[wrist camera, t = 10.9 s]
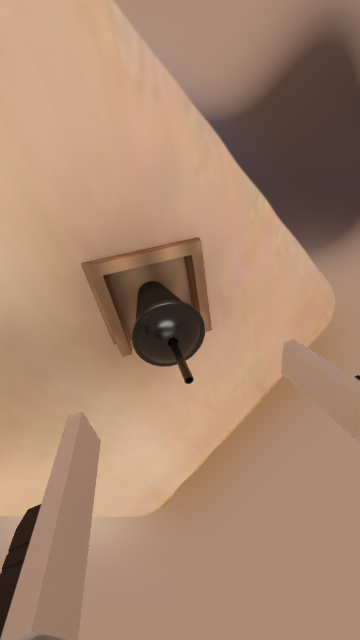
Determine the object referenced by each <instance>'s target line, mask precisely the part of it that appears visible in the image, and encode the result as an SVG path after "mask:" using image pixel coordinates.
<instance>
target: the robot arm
mask: <svg viewBox="0 0 360 640" xmlns="http://www.w3.org/2000/svg"><path fill="white" fill-rule="evenodd" d="M281 374H282V375H283V376H285V377H286V378H287V379H288V380H289V381H291V383H293V384H294V385H295V386H296V387H297V388H298V389H299V390H300V391H302V392H303V393H304V394H305V395H306V396H307V397H309V398H310V399H311V400H312V401H313V402H314V403H315V404H317V406H318V407H320V408H321V409H322V410H323V411H324V412H325V413H326V414H328V415H329V416H330V417H331V418H332V419H333V420H334V421H335V422H337V423H338V424H339V425H340V426H341V427H342V428H343V429H345V430H346V431H347V432H348V433H349V434H350V435H351V436H352V437H353V438H355V439H356V440H357V441H358V442H359V443H360V376H359V375H358V376H356V377H353V376H352V375H350V374H348V373H347V372H345V371H343V370H342V369H340V368H339V367H337V366H335V365H334V364H332V363H331V362H329V361H327V360H326V359H324V358H322V357H321V356H319V355H318V354H316V353H314V352H313V351H311V350H310V349H308V348H306V347H305V346H303V345H302V344H300V343H298V342H297V341H295V340H294V339H293V340H290V341H287V342H284V345H283V356H282V367H281ZM100 441H101V440H100V439H99V437H98V436H97V434H96V432H95V431H94V429H93V428H92V426H91V425H90V423H89V421H88V420H87V418H86V417H85V415H84V414H83V412H80V413H77V414H74V415H71V416H68V419H67V422H66V425H65V428H64V432H63V435H62V438H61V442H60V445H59V448H58V451H57V455H56V458H55V461H54V465H53V468H52V471H51V474H50V478H49V481H48V484H47V488H46V491H45V494H44V497H43V501H42V504H40V505H38V506H35V507H33V508H30V509H28V510H27V512H26V514H25V515H24V517H23V519H22V520H21V522H20V524H19V525H18V527H17V529H16V531H15V534H14V537H13V539H12V542H11V545H10V548H9V553H8V555H7V556H6V559H5V561H4V564H3V567H2V573H1V574H0V640H78V635H79V627H80V618H81V609H82V601H83V592H84V582H85V574H86V565H87V556H88V547H89V538H90V528H91V521H92V512H93V503H94V494H95V485H96V476H97V467H98V459H99V450H100Z"/></svg>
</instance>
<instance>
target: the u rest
mask: <svg viewBox="0 0 360 640" xmlns="http://www.w3.org/2000/svg"><path fill="white" fill-rule="evenodd" d="M81 265H82V268H83V270H84V273H85V275H86V277H87V280H88V282H89V285H90V287H91V290H92V292H93V294H94V297H95V299H96V302H97V304H98V306H99V309H100V311H101V314H102V316H103V319H104V321H105V323H106V326H107V328H108V331H109V333H110V335H111V338H112V340H113V343H114V344H117V345H118V347H119V350H120V352H121V355H122V357H123V356H126V355H130V354H132V346H131V340H132V330H133V326H134V324H135V322H136V310H137V297H138V291H139V289H140V287H141V286H142V285H143V284H144V283H146V282H149V281H156V282H159V283H161V284H162V285H163V286H165V287H166V288H167V289H168V290H170V291H171V292H172V293H173V294H174V295H176V296H177V297H178V298H179V299H181V300H182V301H183V302H186V303H188V304H190V305H192V306H193V307H194V308H196V309H197V310H198V312H199V313H200V314H201V316H202V318H203V320H204V324H205V332H206V331H209V330H212V329H211V320H210V312H209V304H208V296H207V288H206V279H205V271H204V263H203V255H202V246H201V241H200V238H194V239H189V240H185V241H180V242H176V243H171V244H167V245H162V246H158V247H153V248H149V249H144V250H140V251H135V252H130V253H126V254H121V255H117V256H112V257H108V258H103V259H99V260H94V261H90V262H85V263H82V264H81Z"/></svg>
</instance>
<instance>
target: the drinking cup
mask: <svg viewBox="0 0 360 640" xmlns="http://www.w3.org/2000/svg"><path fill="white" fill-rule="evenodd" d="M204 336H205V324H204V320H203V318H202V316H201V314H200V313H199V312H198V310H197V309H196V308H194V307H193V306H192V305H190V304H188V303H186V302H183V301H182V300H181V299H179V298H178V297H177V296H176V295H174V294H173V293H172V292H171V291H170V290H168V289H167V288H166V287H165V286H163V285H162V284H161V283H159V282H156V281H149V282H146V283H144V284H143V285H142V286H141V287H140V289H139V291H138V297H137V310H136V322H135V324H134V326H133V330H132V343H133V347H134V349H135V351H136V353H137V354H138V355H139V357H140V358H142V359H143V360H144V361H146V362H147V363H150V364H152V365H156V366H173V365H177V364H178V366H179V368H180V371H181V373H182V376H183V378H184V381H185V383H187V384H190V383H192V382H193V380H194V379H193V376H192V374H191V372H190V370H189V368H188V365H187V363H186V360H187V359H189V358H190V357H192V356H193V355H194V354H195V353H196V352H197V350H198V349H199V348H200V346H201V344H202V342H203V339H204Z"/></svg>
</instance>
